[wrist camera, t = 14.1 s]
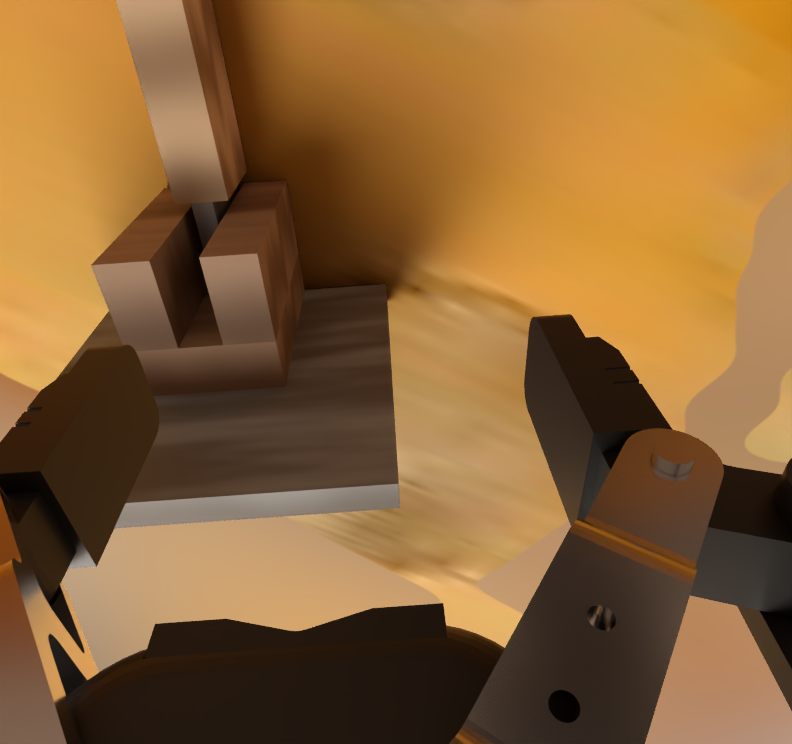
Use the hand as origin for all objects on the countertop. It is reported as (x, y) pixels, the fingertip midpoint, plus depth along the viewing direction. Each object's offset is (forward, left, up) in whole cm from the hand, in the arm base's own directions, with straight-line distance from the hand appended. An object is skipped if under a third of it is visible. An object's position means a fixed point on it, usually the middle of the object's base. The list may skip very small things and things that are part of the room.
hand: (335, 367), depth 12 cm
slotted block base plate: (+8, -9, -28) cm, 31 cm away
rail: (-2, -9, -28) cm, 30 cm away
